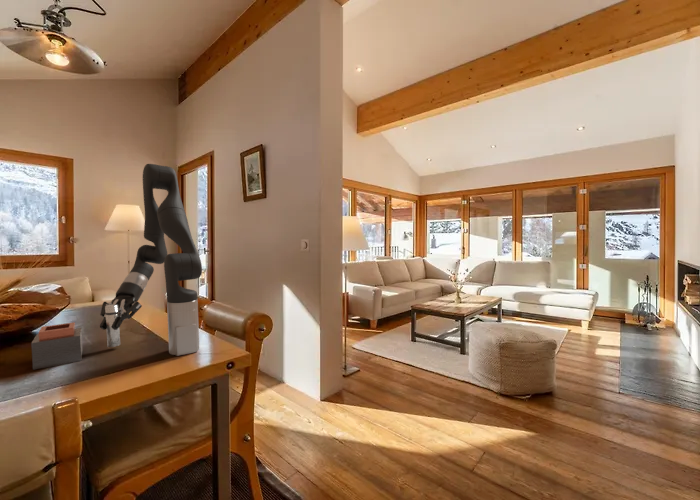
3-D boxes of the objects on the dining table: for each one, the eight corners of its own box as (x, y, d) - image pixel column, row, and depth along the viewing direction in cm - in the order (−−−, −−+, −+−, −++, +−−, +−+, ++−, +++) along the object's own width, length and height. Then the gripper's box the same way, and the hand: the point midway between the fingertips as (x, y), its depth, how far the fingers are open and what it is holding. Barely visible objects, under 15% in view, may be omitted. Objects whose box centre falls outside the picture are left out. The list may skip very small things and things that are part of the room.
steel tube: (120, 345, 112) (118, 305, 112) (107, 348, 110) (104, 307, 109) (120, 342, 115) (118, 303, 115) (106, 345, 113) (104, 305, 112)
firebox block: (81, 360, 103) (79, 327, 102) (32, 369, 96) (30, 334, 95) (82, 350, 111) (80, 320, 111) (38, 358, 104) (36, 326, 104)
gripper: (108, 281, 120) (81, 323, 108) (145, 281, 119) (121, 323, 107) (120, 293, 125) (95, 333, 114) (155, 292, 124) (134, 334, 113)
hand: (108, 328), depth 110 cm, fingers closed on steel tube, 3 cm apart
